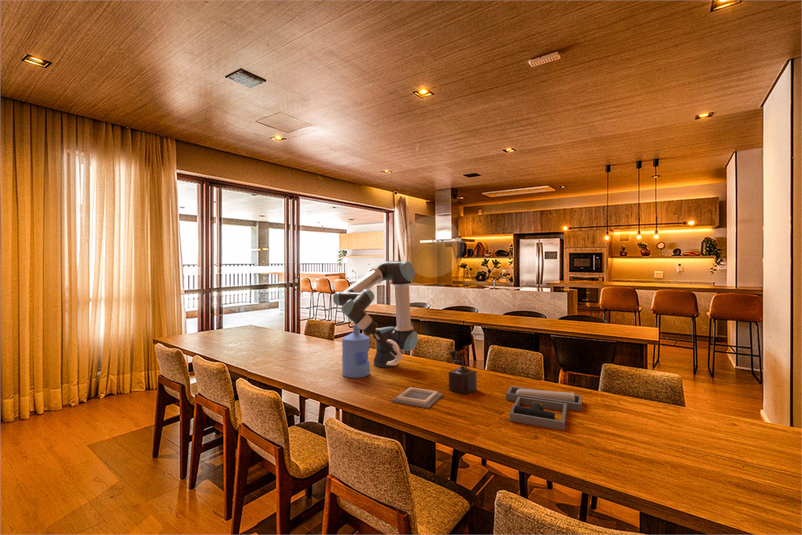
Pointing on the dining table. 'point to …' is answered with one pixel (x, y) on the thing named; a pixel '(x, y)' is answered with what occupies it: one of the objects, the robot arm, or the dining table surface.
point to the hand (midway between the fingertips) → (400, 357)
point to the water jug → (355, 354)
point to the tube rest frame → (570, 405)
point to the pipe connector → (535, 411)
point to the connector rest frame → (538, 420)
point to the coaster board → (418, 397)
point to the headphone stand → (396, 350)
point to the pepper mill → (462, 377)
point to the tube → (548, 394)
